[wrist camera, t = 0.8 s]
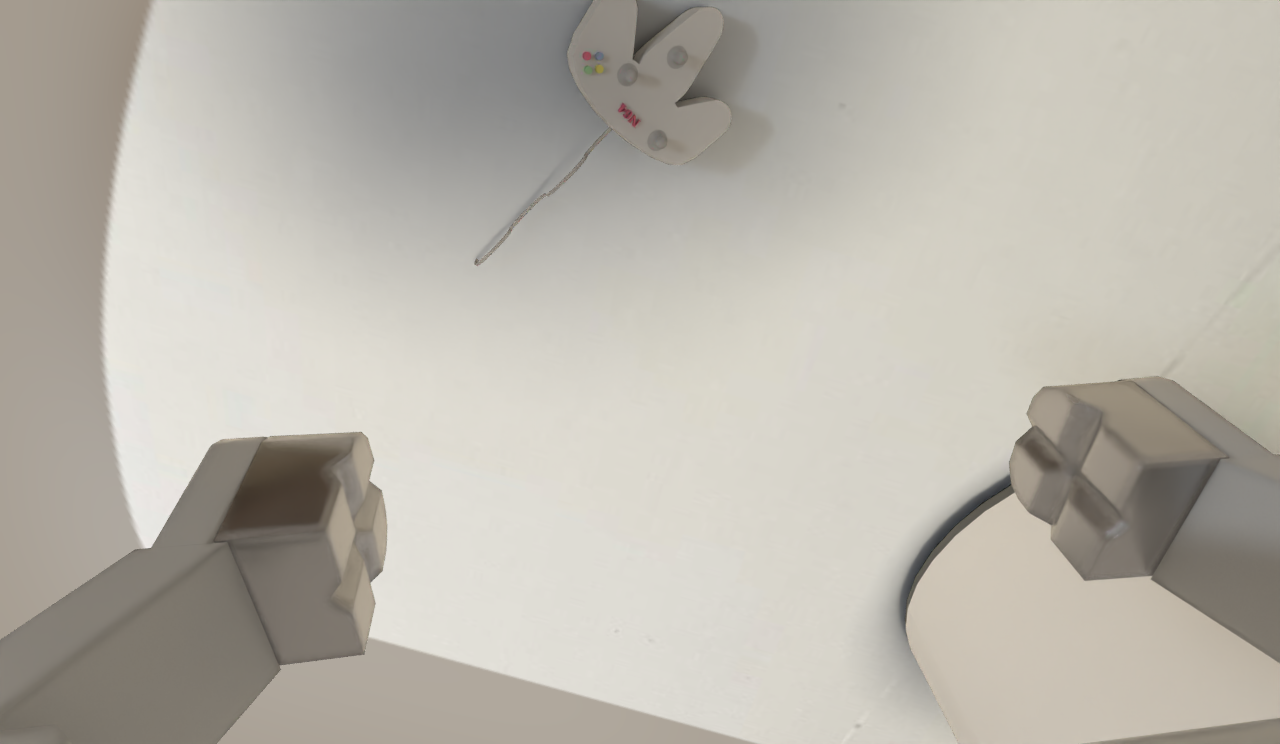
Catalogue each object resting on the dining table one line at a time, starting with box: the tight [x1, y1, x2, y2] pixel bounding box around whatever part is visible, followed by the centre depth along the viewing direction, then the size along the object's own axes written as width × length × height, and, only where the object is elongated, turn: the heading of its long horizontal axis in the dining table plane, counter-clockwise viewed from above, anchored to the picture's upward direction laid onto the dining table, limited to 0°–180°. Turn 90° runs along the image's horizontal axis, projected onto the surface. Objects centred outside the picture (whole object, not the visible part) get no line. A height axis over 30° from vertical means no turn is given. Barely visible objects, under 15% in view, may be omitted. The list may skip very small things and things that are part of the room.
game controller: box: [474, 0, 732, 266], centre depth 25 cm, size 6×12×3 cm, turn 152°
